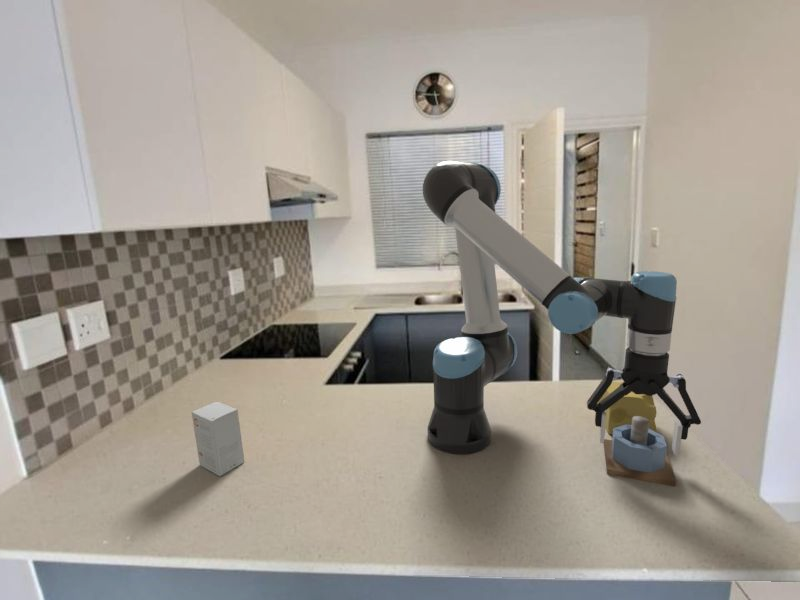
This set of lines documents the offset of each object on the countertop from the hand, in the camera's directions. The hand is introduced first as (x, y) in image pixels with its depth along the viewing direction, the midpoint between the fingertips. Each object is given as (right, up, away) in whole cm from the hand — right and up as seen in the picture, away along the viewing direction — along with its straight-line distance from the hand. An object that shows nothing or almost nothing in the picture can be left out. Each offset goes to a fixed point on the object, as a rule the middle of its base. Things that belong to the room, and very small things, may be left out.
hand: (637, 445), depth 89 cm
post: (0, -4, +1) cm, 4 cm away
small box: (-90, -6, +6) cm, 90 cm away
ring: (0, -3, +1) cm, 3 cm away
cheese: (+5, -1, +16) cm, 16 cm away
